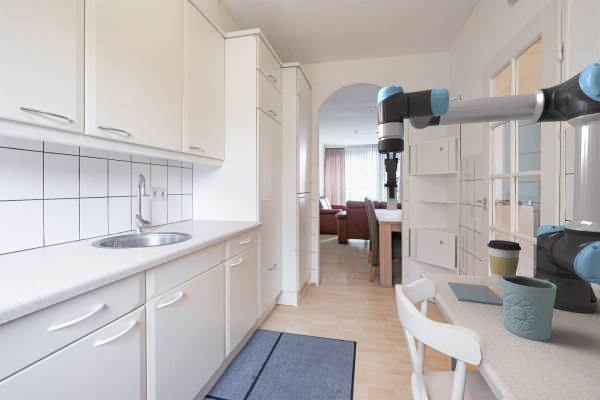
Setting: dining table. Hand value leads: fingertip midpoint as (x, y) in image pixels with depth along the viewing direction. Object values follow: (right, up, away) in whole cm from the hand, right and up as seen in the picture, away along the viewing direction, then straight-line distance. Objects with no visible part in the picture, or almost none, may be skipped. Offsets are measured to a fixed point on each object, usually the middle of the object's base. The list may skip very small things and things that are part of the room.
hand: (391, 209), depth 83 cm
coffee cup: (+45, -28, +15) cm, 55 cm away
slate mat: (+28, -28, +5) cm, 40 cm away
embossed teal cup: (+25, -29, -19) cm, 43 cm away
